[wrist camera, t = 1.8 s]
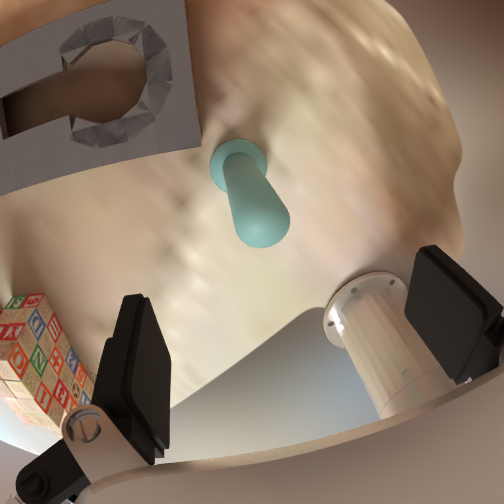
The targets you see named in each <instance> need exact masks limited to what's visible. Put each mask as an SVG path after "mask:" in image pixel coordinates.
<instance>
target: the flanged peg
mask: <svg viewBox="0 0 504 504" xmlns="http://www.w3.org/2000/svg"><path fill="white" fill-rule="evenodd" d="M210 171H211V176H212V179H213V181H214V182H215V184H216V185H217V186H218V187H219V188H220V189H221V190H223V191H224V192H227V193H228V198H229V203H230V207H231V212H232V216H233V221H234V225H235V230H236V233H237V235H238V237H239V238H240V239H241V240H242V241H243V242H244V243H245V244H247V245H249V246H251V247H255V248H266V247H270V246H272V245H275V244H276V243H278V242H279V241H280V240H282V239H283V237H284V236H285V235H286V233H287V231H288V229H289V225H290V216H289V212H288V210H287V208H286V207H285V205H284V204H283V202H282V201H281V199H280V198H279V196H278V195H277V193H276V192H275V190H274V189H273V188H272V186H271V185H270V183H269V182H268V180H267V179H266V177H265V175H266V172H267V162H266V158H265V156H264V154H263V152H262V151H261V150H260V149H259V148H258V147H257V146H256V145H255V144H254V143H252V142H251V141H248V140H245V139H231V140H228V141H226V142H224V143H222V144H221V145H220V146H218V147H217V149H216V150H215V151H214V153H213V155H212V158H211V162H210Z"/></svg>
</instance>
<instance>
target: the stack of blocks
mask: <svg viewBox="0 0 504 504" xmlns="http://www.w3.org/2000/svg"><path fill="white" fill-rule="evenodd" d="M93 390H94V385H93V383H92V381H91V380H90V378H89V377H88V375H87V373H86V372H85V370H84V368H83V366H82V365H81V363H80V361H79V360H78V358H77V357H76V355H75V353H74V351H73V349H72V347H71V346H70V344H69V342H68V340H67V338H66V337H65V335H64V333H63V331H62V328H61V326H60V324H59V322H58V320H57V318H56V316H55V314H54V311H53V309H52V307H51V305H50V302H49V300H48V298H47V296H46V294H45V293H43V294H33V295H27V296H16V297H12V298H11V300H10V301H9V302H8V304H7V305H6V307H5V308H4V310H3V311H2V313H1V314H0V397H1V398H2V399H3V400H4V402H5V403H6V404H7V405H8V406H9V407H10V408H11V409H12V410H13V411H14V413H15V414H16V415H17V416H18V417H19V418H20V419H21V420H22V421H23V422H24V423H25V424H26V425H33V426H42V427H49V428H50V429H51V430H52V431H53V432H54V433H55V434H56V435H57V437H58V438H59V439H60V440H61V439H62V438H63V436H62V433H61V426H62V423H63V419H64V418H65V416H66V415H67V413H69V412H70V411H71V410H72V409H73V408H75V407H77V406H80V405H85V404H91V399H92V394H93Z"/></svg>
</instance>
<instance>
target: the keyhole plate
mask: <svg viewBox="0 0 504 504" xmlns="http://www.w3.org/2000/svg"><path fill="white" fill-rule="evenodd" d="M112 40H116V41H120V42H124V43H128V44H132V45H133V46H134V47H135V49H136V50H137V51H138V52H139V53H140V54H141V56H142V57H143V58H144V61H145V69H146V77H147V82H146V85H145V87H144V89H143V92H142V94H141V97H140V99H139V102H138V103H137V104H136V105H135V106H134V107H133V108H132V109H131V110H129V111H128V112H127V113H126V114H125V115H124V116H123V117H122V118H120V119H116V120H112V121H108V122H105V123H101V122H98V121H94V120H91V119H88V118H84V117H81V116H80V117H76V119H75V121H74V115H73V114H71V115H67V116H64V117H62V118H59V119H56V120H53V121H50V122H47V123H45V124H42V125H39V126H36V127H34V128H31V129H29V130H26V131H24V132H21V133H19V134H16V135H14V136H12V137H9V138H8V133H7V127H6V122H5V115H4V109H3V101H2V99H3V98H5V97H7V96H9V95H11V94H14V93H16V92H18V91H20V90H22V89H24V88H27V87H29V86H31V85H33V84H36V83H38V82H40V81H43V80H45V79H48V78H50V77H53V76H56V75H58V74H61V73H63V72H66V71H67V63H68V64H72V65H74V64H75V63H76V62H77V61H78V60H79V59H80V58H81V57H82V56H83V55H84V54H85V53H86V52H87V51H88V50H89V49H90V48H91V47H92V46H95V45H98V44H101V43H105V42H108V41H112ZM66 61H67V62H66ZM201 144H202V136H201V128H200V120H199V113H198V105H197V97H196V88H195V80H194V72H193V63H192V54H191V45H190V35H189V25H188V15H187V5H186V0H112V1H109V2H105V3H102V4H99V5H96V6H93V7H90V8H87V9H84V10H81V11H78V12H76V13H73V14H70V15H68V16H65V17H63V18H60V19H58V20H55V21H53V22H50V23H48V24H46V25H44V26H41V27H39V28H37V29H35V30H33V31H31V32H29V33H26V34H24V35H22V36H20V37H18V38H17V39H15V40H13V41H11V42H9V43H7V44H5V45H3V46H2V47H0V196H2V195H5V194H7V193H10V192H13V191H16V190H19V189H22V188H25V187H29V186H32V185H35V184H38V183H41V182H45V181H48V180H51V179H55V178H58V177H62V176H65V175H69V174H73V173H76V172H80V171H84V170H88V169H92V168H96V167H100V166H104V165H108V164H113V163H117V162H121V161H126V160H131V159H135V158H140V157H145V156H150V155H155V154H160V153H166V152H171V151H177V150H183V149H189V148H195V147H201Z"/></svg>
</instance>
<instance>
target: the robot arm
mask: <svg viewBox="0 0 504 504" xmlns="http://www.w3.org/2000/svg"><path fill="white" fill-rule="evenodd" d="M503 308H504V307H503V306H502V305H501V304H500V303H499V302H498V301H497V300H496V299H495V298H494V297H493V296H492V295H491V294H489V292H487V291H486V290H485V289H484V288H483V287H482V286H481V285H480V284H479V283H478V282H477V281H476V280H475V279H474V278H473V277H472V276H471V275H469V274H468V273H467V272H466V271H465V270H464V269H463V268H462V267H460V266H459V265H458V264H457V263H456V262H455V261H454V260H453V259H451V258H450V257H449V256H448V255H447V254H446V253H445V252H443V251H442V250H441V249H440V248H439V247H437V246H436V245H429V246H424V247H421V248H420V249H419V252H417V254H416V257H415V262H414V268H413V273H412V277H411V282H410V287H409V291H407V289H406V286H405V285H404V283H403V282H402V281H401V280H400V279H399V278H398V277H397V276H396V275H394V274H392V273H388V272H372V273H367V274H364V275H362V276H359V277H357V278H355V279H354V280H352V281H350V282H349V283H347V284H346V285H345V286H343V287H342V288H341V289H340V290H339V291H338V292H337V293H336V294H335V296H334V297H333V298H332V299H331V301H330V302H329V304H328V306H327V308H326V311H325V314H324V319H323V326H324V330H325V333H326V335H327V337H328V339H329V340H330V341H331V342H332V343H333V344H334V345H337V346H338V347H341V348H346V349H347V351H348V353H349V355H350V356H351V359H352V361H353V363H354V365H355V367H356V369H357V371H358V373H359V375H360V377H361V379H362V381H363V384H364V386H365V388H366V390H367V392H368V394H369V396H370V398H371V400H372V402H373V404H374V407H375V409H376V411H377V413H378V415H379V417H380V419H381V420H379V421H377V422H374V423H371V424H368V425H365V426H362V427H358V428H355V429H352V430H349V431H345V432H342V433H338V434H335V435H331V436H328V437H324V438H320V439H316V440H312V441H308V442H304V443H300V444H296V445H291V446H286V447H281V448H276V449H271V450H265V451H260V452H254V453H247V454H242V455H236V456H228V457H221V458H212V459H203V460H193V461H184V462H175V463H165V464H158V465H154V464H155V458H164V449H169V444H170V385H171V357H170V354H169V351H168V349H167V346H166V343H165V341H164V338H163V335H162V333H161V330H160V327H159V325H158V322H157V319H156V316H155V313H154V311H153V308H152V305H151V302H150V299H149V298H148V297H145V298H144V297H143V295H142V294H134V295H126V296H124V298H123V301H122V305H121V308H120V312H119V315H118V319H117V322H116V326H115V330H114V333H113V337H111V338H108V339H107V340H106V342H105V346H104V349H103V353H102V357H101V361H100V365H99V369H98V373H97V377H96V381H95V386H94V390H93V394H92V399H91V404H85V405H80V406H77V407H75V408H73V409H72V410H71V411H70V412H69V413H67V415H66V416H65V418H64V419H63V423H62V426H61V433H62V436H63V438H62V439H61V440H59V441H58V442H57V443H55V444H54V445H53V446H51V447H50V448H49V449H47V450H46V451H45V452H44V453H42V454H41V455H40V456H38V457H37V458H36V459H34V460H33V461H32V462H30V463H29V464H28V465H26V466H25V467H24V468H23V469H22V470H21V471H20V472H19V474H18V476H17V479H16V491H17V494H16V496H15V497H14V496H13V495H11V496H10V497H9V498H8V500H7V501H6V503H5V504H504V317H502V316H501V313H502V311H503ZM469 377H471V379H472V381H471V382H469V383H467V384H465V383H464V382H465V381H467V380H468V378H469Z"/></svg>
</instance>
